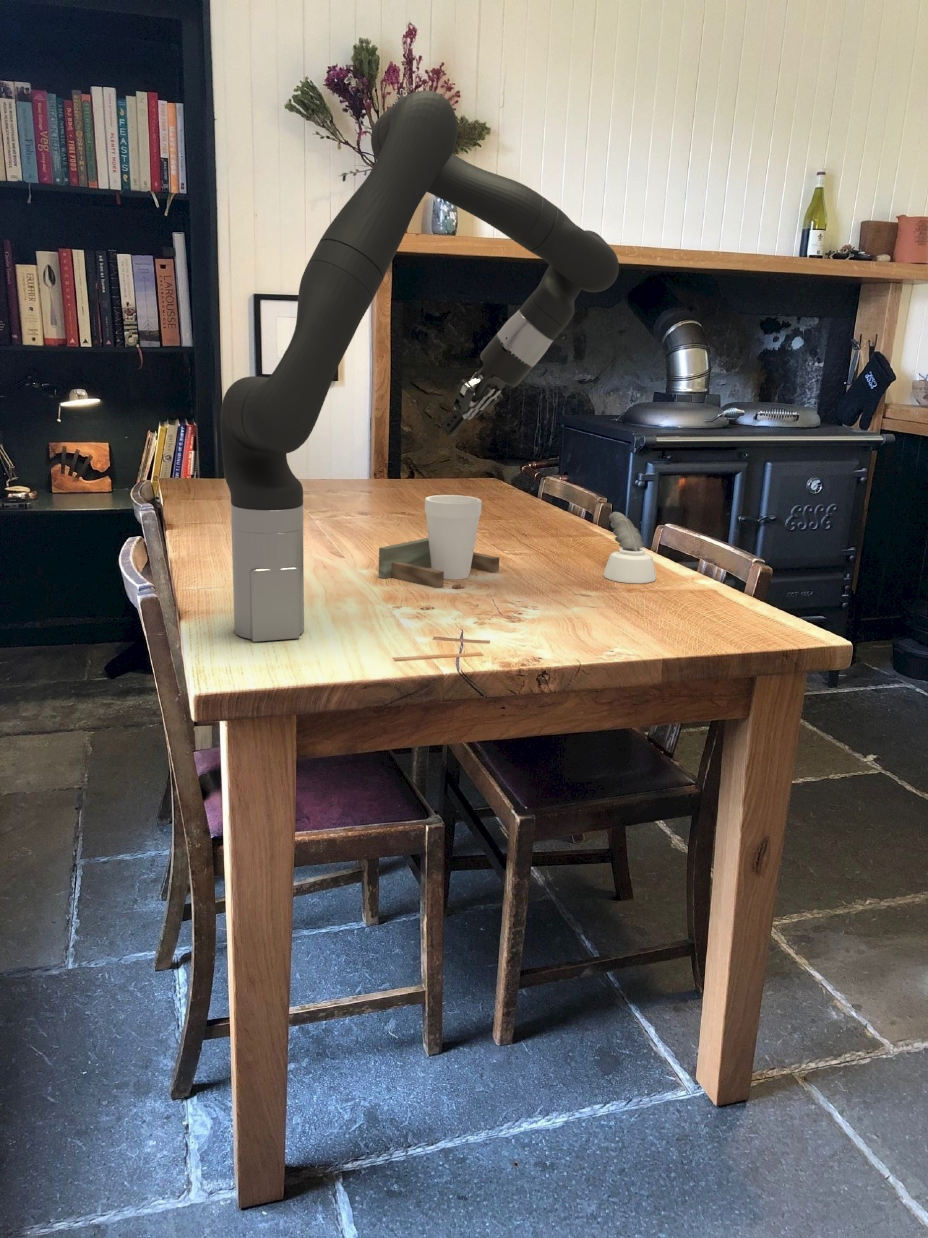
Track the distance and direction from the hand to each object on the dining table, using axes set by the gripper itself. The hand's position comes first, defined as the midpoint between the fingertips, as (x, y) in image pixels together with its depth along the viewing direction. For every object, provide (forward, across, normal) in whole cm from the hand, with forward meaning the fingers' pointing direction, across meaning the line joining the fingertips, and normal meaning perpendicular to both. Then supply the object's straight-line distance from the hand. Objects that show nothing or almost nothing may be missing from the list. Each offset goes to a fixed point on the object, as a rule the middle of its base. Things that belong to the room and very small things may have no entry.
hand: (446, 431), depth 158 cm
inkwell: (+2, -26, +32) cm, 41 cm away
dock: (+20, -6, +14) cm, 25 cm away
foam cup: (+19, -6, +15) cm, 25 cm away
